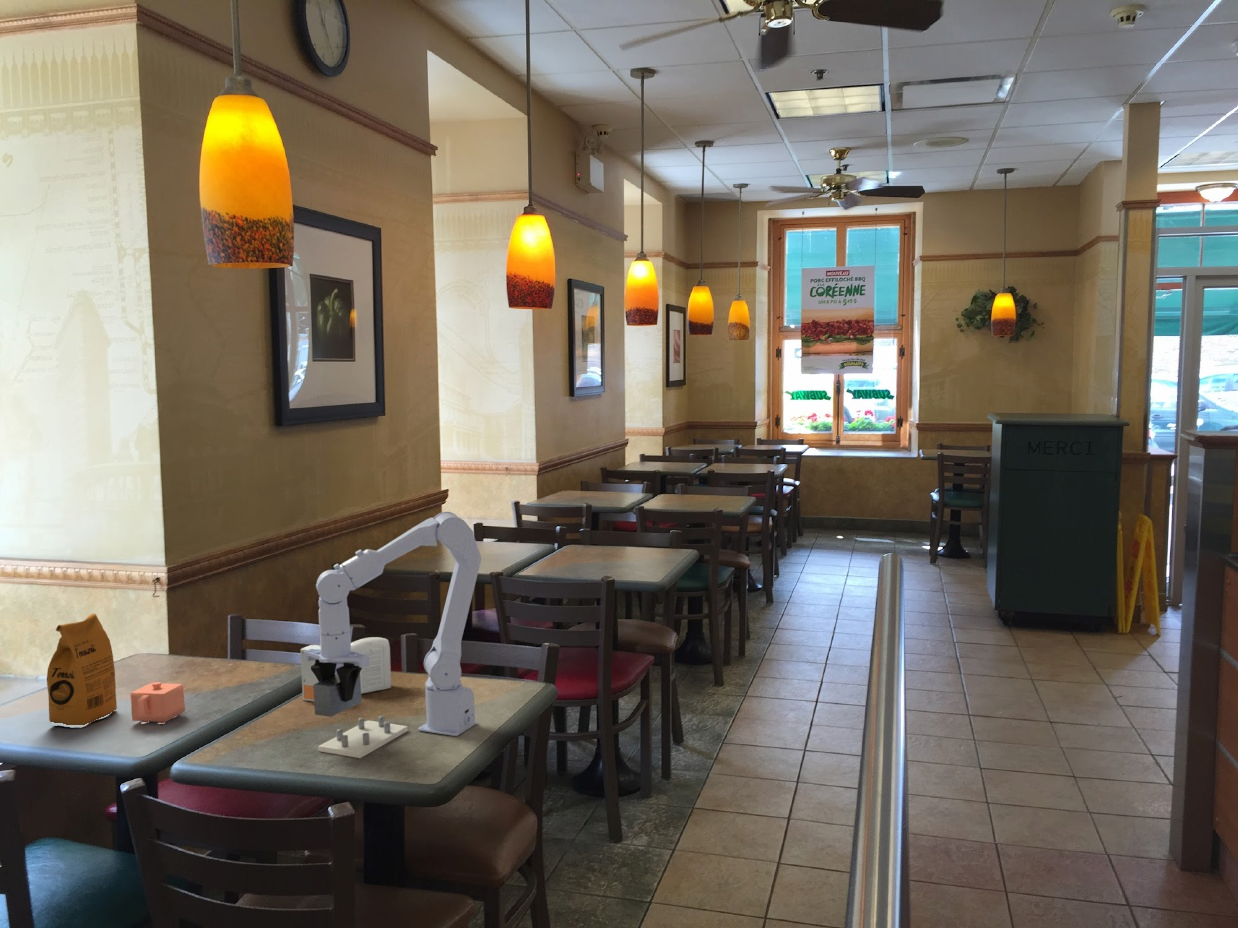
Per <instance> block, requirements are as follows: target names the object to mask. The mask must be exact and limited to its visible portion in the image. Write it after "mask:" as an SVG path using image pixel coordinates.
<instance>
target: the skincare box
mask: <svg viewBox="0 0 1238 928" xmlns="http://www.w3.org/2000/svg"><path fill="white" fill-rule="evenodd" d="M309 649H321V646H320V644H318V645H317V644H310V645H308V646H305V647H302V648H301V649H299V650H300V669H301V688H302V690H301V691H302V701H308V702H312V703H314V688H313V684H316V683H318V682H319V681H318V679H317V678H316V676H315V674H314V673H313V672H312V671H311V666H312V665H315V661H312V660H310V661H305V660H304V651H307V650H309Z"/></svg>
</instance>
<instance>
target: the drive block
mask: <svg viewBox="0 0 1238 928" xmlns="http://www.w3.org/2000/svg"><path fill="white" fill-rule="evenodd" d="M313 688H314V702H313V703H314V705H313V706H314V715H316V716H322V717H330V718H332V717H334V716H337V715H338V714H340V713H342V712H345V711H346V710H349V709H350V708H352V707H354V706H357V705H358V704H360V703H362V694H361V683H360V673H359V676H358V678H357V681H356V684H355V688H354V693H353V699H351V700H349V701H347V702H343V698H342V690H341V683H340V679H339V676H338V674H337V673H335V675H334V676H332V677H329V678H327V679H325V680H322V681H320V682H318V683H316V684H313Z"/></svg>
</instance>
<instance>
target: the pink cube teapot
mask: <svg viewBox="0 0 1238 928" xmlns="http://www.w3.org/2000/svg"><path fill="white" fill-rule="evenodd" d="M129 694H130V708H131V720H132V721H134V722H138V721H139V722H148V721H149V722H157V724H158V723H164V722H166V723H167V722H168V721H170V720H172V719H174V718H173V717H175V716H178V715H180V714H182V713H184V712H186V706H185V703H186V702H185V692H184V684H183V683H167V682H166V683H162V681H156V682H150V683H148V684H146V685H143V686H142V687H140V688H138V689H136V690H134V691H132V692H130V693H129Z"/></svg>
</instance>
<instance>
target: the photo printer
mask: <svg viewBox="0 0 1238 928" xmlns="http://www.w3.org/2000/svg"><path fill="white" fill-rule="evenodd" d="M351 651H354V652H357V653H360V654H363V655H369V665H368V666H366V667H364V668H362V669H361V671H360V683H361V695H362V694H367V693H372V692H377V691H383V690H388V689H391V688H392V675H391V673H392V671H391V669H392V667H391V646H390V642H389V639H387V638H383V637H377V636H375V637H373V636H372V637H364V638H361V639H358V640H355V641H351Z"/></svg>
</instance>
